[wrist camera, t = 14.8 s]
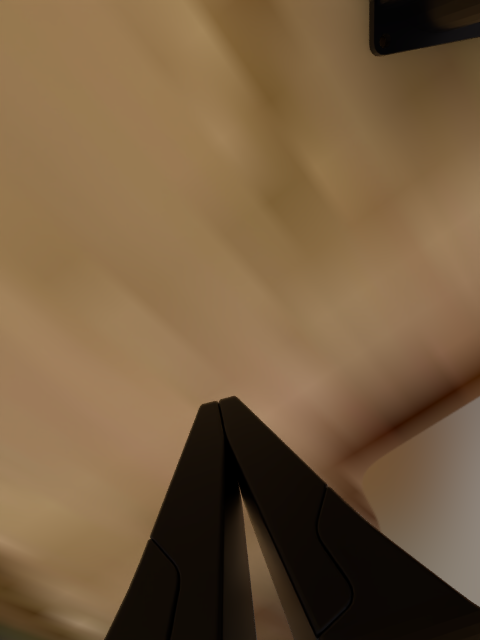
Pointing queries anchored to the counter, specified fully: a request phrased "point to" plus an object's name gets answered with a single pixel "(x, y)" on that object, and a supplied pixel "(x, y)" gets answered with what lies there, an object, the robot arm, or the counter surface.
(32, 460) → the counter surface
